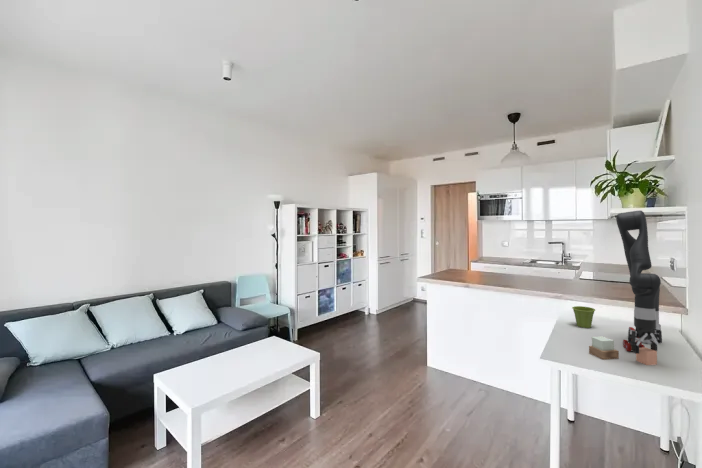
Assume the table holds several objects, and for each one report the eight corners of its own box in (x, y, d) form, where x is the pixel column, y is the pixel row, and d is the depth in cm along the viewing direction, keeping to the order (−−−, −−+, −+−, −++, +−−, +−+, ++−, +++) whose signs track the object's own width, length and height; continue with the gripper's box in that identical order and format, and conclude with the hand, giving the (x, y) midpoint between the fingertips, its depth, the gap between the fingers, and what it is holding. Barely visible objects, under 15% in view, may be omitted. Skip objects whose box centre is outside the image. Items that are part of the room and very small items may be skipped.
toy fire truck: (628, 353, 161) (628, 332, 161) (621, 345, 172) (621, 325, 172) (647, 355, 158) (646, 334, 157) (638, 347, 169) (638, 327, 168)
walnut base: (604, 353, 163) (604, 345, 163) (618, 359, 155) (618, 351, 155) (589, 353, 162) (589, 345, 162) (602, 360, 154) (602, 352, 154)
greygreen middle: (603, 345, 162) (603, 336, 162) (614, 349, 156) (614, 340, 156) (592, 346, 162) (591, 337, 162) (602, 350, 156) (602, 341, 156)
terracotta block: (646, 360, 153) (646, 347, 153) (657, 364, 148) (656, 351, 148) (636, 360, 152) (636, 347, 152) (646, 365, 147) (646, 351, 147)
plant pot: (567, 324, 209) (567, 306, 209) (584, 323, 211) (584, 305, 210) (582, 330, 198) (582, 311, 197) (600, 328, 199) (600, 310, 199)
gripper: (651, 314, 154) (651, 349, 154) (622, 315, 153) (622, 350, 153) (667, 318, 147) (667, 355, 147) (637, 319, 146) (638, 356, 146)
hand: (644, 352), depth 150 cm, fingers open, 8 cm apart
